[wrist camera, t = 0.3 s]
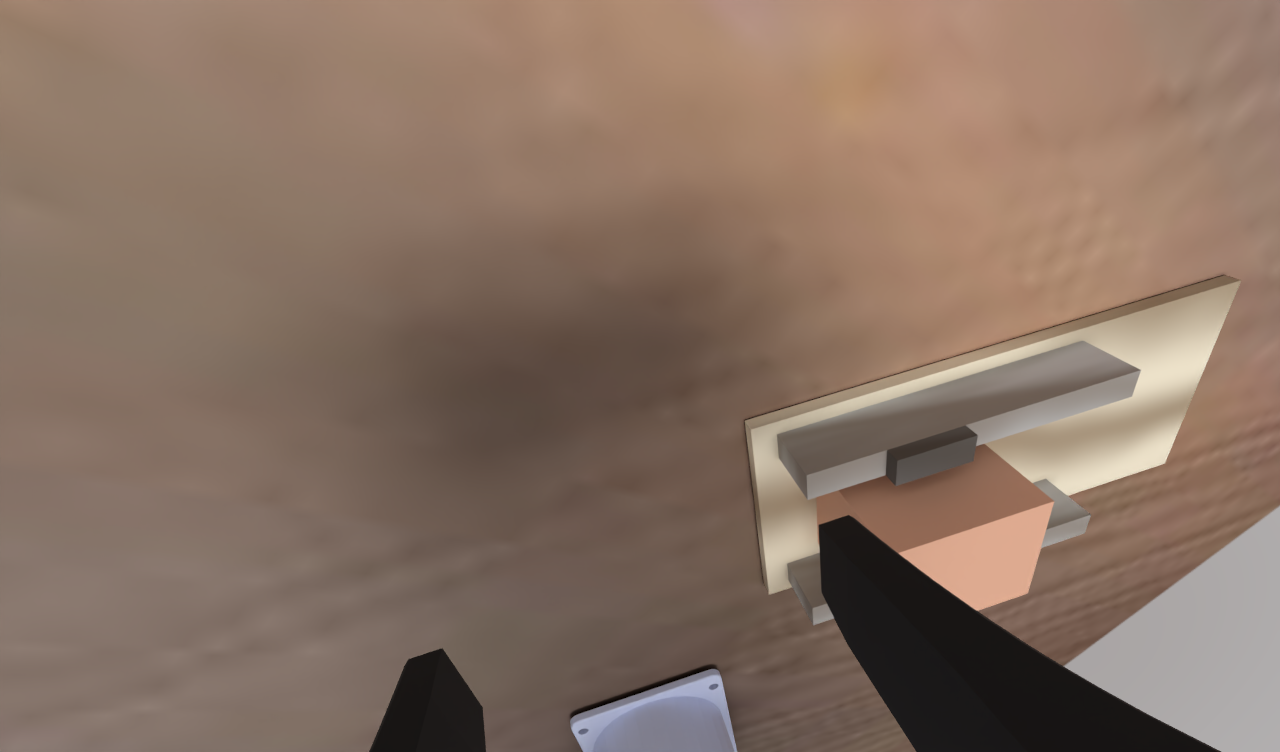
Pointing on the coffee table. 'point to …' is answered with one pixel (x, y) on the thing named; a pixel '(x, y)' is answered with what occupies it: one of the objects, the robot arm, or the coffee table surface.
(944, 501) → the block
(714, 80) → the coffee table surface
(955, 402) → the chute
